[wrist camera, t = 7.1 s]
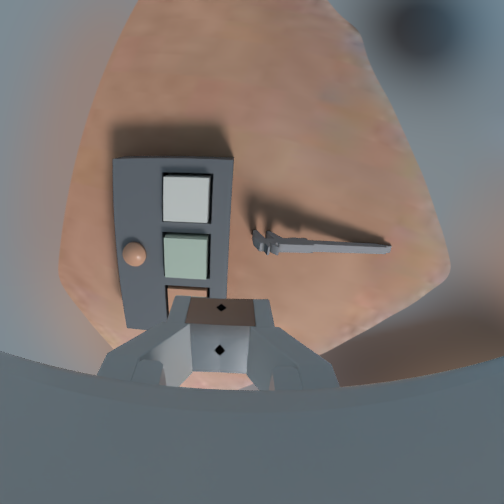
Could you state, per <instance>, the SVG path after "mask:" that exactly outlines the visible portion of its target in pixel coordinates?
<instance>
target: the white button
mask: <svg viewBox="0 0 504 504" xmlns="http://www.w3.org/2000/svg"><path fill="white" fill-rule="evenodd" d="M210 190H211V175H203V174H168V175H166V176H164V177H163V221H173V222H197V223H207V222H208V219H209V215H210Z"/></svg>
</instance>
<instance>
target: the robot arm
mask: <svg viewBox="0 0 504 504" xmlns="http://www.w3.org/2000/svg"><path fill="white" fill-rule="evenodd" d="M192 371H200V372H219V371H220V372H225V373H243V374H247V376H248V377H249V378H250V379H251V381H252V382H253V383H254V384H255V386H256V387H258V389H259V390H260V391H249V390H247V391H246V390H245V391H244V390H217V389H199V388H186V387H179V386H180V385H181V384H182V383H183V382H184V381H185V380H186V379H187V378H188V376H189V375H190V374H191V373H192ZM0 504H504V356H503V357H499V358H496V359H493V360H489V361H486V362H482V363H478V364H475V365H471V366H467V367H463V368H459V369H455V370H450V371H445V372H441V373H436V374H431V375H425V376H420V377H414V378H409V379H403V380H396V381H389V382H383V383H375V384H367V385H358V386H348V387H340V386H339V383H338V381H337V378H336V375H335V373H334V370H333V367H332V365H331V364H330V363H329V362H327V361H326V360H324V359H323V358H322V357H320V356H319V355H317V354H316V353H314V352H313V351H312V350H310V349H309V348H307V347H306V346H305V345H303V344H302V343H300V342H299V341H297V340H296V339H295V338H293V337H292V336H291V335H289V334H288V333H286V332H285V331H284V330H282V329H281V328H279V327H275V326H274V321H273V316H272V311H271V307H270V302H269V300H268V299H222V298H209V297H196V296H192V297H191V296H182V295H176V296H175V298H174V301H173V304H172V307H171V310H170V313H169V316H168V319H167V322H161V323H159V324H157V325H156V326H154V327H152V328H150V329H149V330H147V331H145V332H143V333H142V334H140V335H138V336H137V337H135V338H133V339H131V340H130V341H128V342H126V343H124V344H123V345H121V346H119V347H117V348H116V349H114V350H112V351H111V352H109V353H108V354H107V355H106V358H105V359H104V361H103V363H102V365H101V368H100V370H99V372H98V374H97V376H96V375H91V374H85V373H81V372H76V371H72V370H67V369H63V368H59V367H55V366H50V365H47V364H42V363H39V362H35V361H31V360H28V359H25V358H21V357H18V356H14V355H11V354H8V353H5V352H2V351H0Z"/></svg>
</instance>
